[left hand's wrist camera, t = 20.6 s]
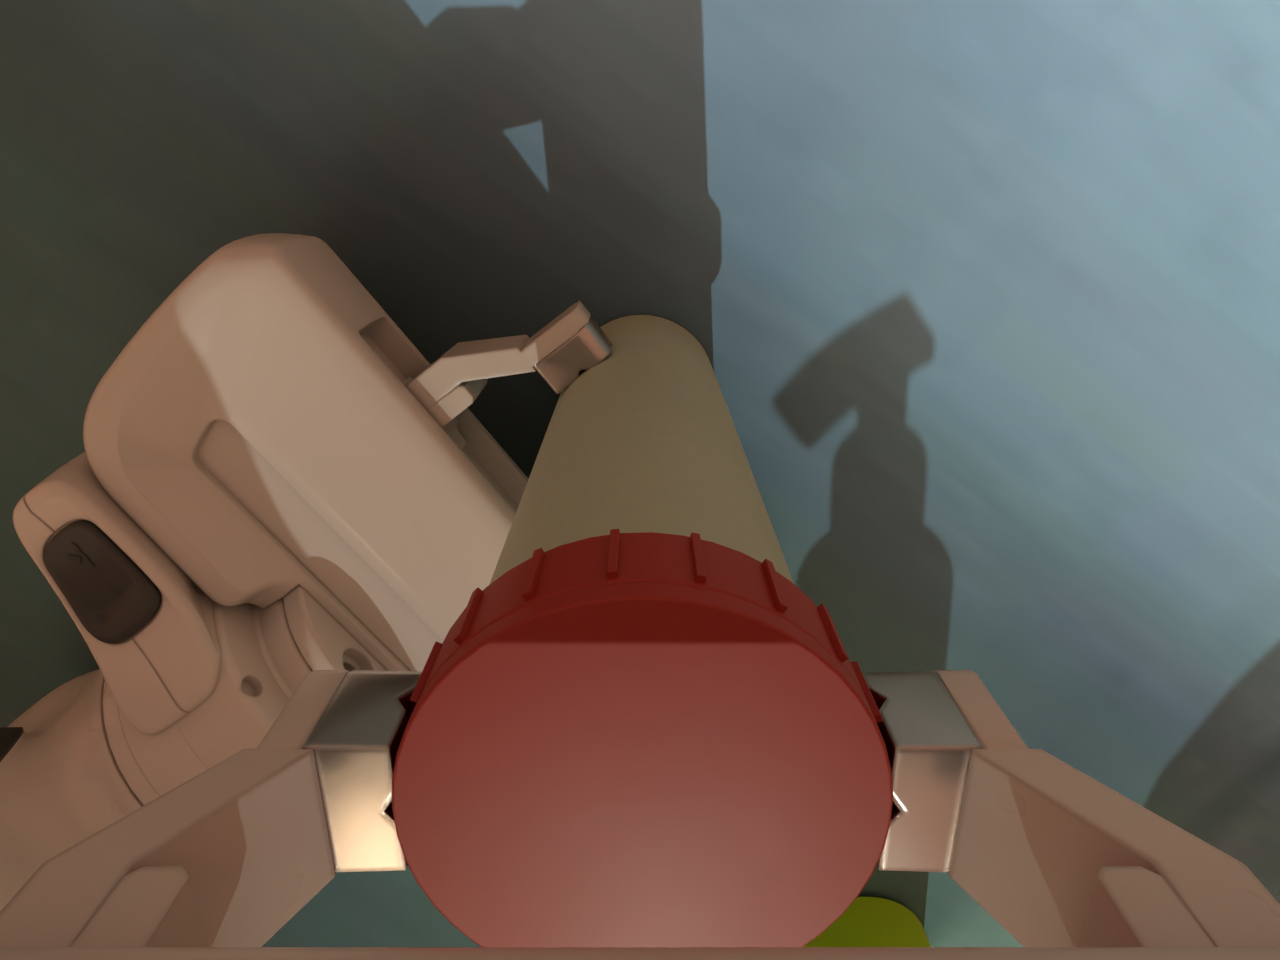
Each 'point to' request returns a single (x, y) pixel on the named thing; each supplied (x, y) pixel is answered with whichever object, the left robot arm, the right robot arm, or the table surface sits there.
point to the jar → (642, 454)
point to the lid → (642, 755)
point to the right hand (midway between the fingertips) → (666, 416)
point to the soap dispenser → (873, 926)
